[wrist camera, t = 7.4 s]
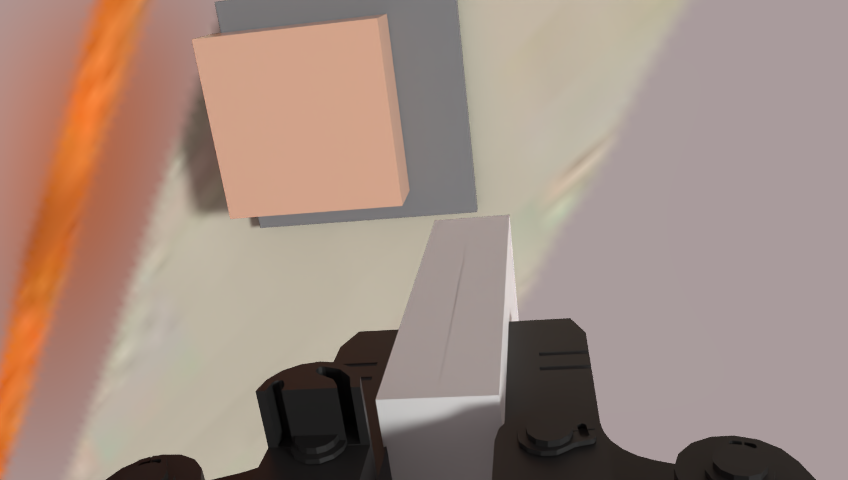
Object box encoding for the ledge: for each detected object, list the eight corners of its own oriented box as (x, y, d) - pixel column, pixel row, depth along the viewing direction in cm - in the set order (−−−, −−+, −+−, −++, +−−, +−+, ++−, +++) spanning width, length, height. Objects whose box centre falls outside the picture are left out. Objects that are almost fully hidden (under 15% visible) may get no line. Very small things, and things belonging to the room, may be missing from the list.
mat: (454, -28, 36) (453, -28, 36) (477, 208, 40) (476, 212, 40) (219, 1, 38) (214, 2, 38) (263, 224, 42) (260, 227, 42)
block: (377, 18, 34) (191, 39, 36) (402, 205, 37) (230, 218, 39) (387, 13, 37) (213, 33, 38) (409, 189, 40) (247, 202, 41)
